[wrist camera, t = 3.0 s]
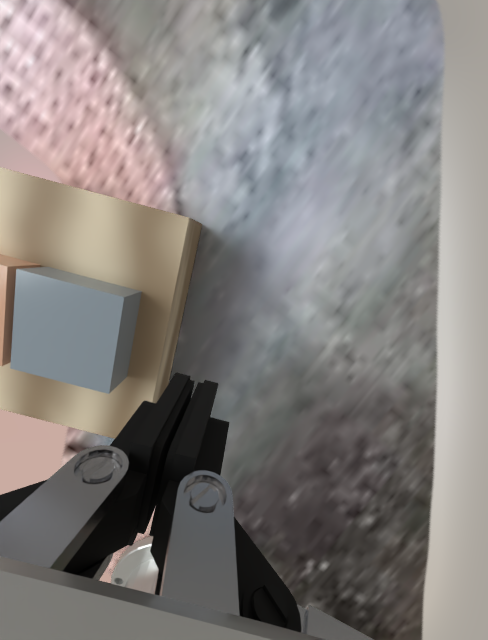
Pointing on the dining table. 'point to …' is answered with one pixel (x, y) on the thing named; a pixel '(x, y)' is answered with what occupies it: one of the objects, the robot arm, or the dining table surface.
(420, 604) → the dining table surface
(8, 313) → the tile
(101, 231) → the board
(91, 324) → the tile
